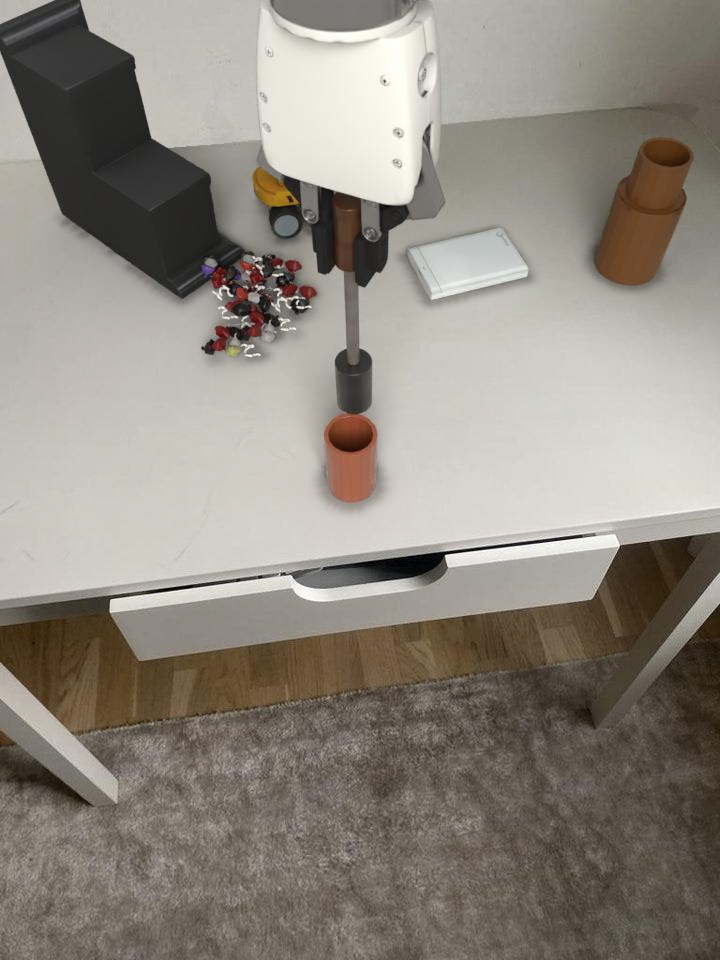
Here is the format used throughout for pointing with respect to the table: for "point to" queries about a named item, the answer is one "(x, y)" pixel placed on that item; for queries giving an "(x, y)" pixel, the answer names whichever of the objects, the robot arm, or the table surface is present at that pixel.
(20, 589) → the table surface
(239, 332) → the toy collection
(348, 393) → the brush
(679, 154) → the flask
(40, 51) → the black stepped block
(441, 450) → the table surface
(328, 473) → the holder
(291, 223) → the toy roller
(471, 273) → the hard drive
